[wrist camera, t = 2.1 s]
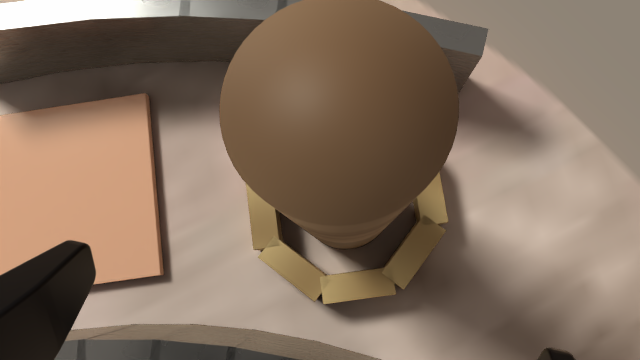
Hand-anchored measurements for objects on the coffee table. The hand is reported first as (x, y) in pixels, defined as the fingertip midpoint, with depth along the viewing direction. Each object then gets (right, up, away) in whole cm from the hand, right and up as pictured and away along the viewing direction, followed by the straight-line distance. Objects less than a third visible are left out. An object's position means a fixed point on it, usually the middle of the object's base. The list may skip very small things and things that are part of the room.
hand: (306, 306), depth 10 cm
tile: (-10, +2, +11) cm, 15 cm away
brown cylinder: (+1, +1, +11) cm, 11 cm away
